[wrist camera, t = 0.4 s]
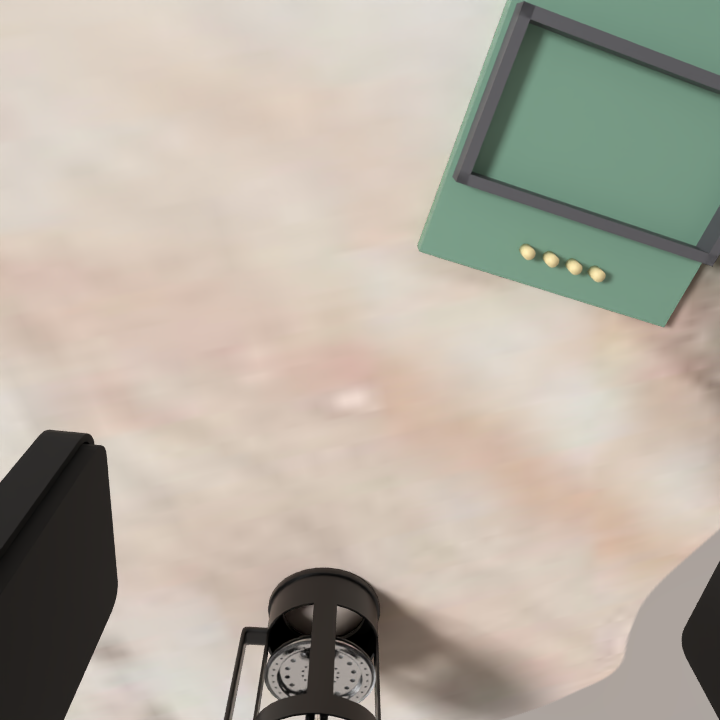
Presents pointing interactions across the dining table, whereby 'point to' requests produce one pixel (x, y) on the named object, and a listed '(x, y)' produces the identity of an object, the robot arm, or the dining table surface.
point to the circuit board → (590, 154)
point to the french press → (316, 650)
